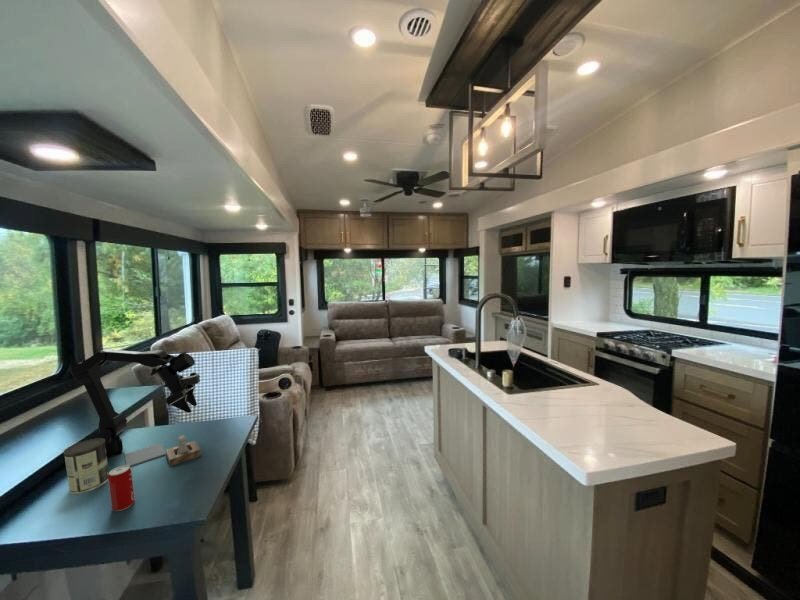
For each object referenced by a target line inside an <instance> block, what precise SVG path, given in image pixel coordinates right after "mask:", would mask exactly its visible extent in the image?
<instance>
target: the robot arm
mask: <svg viewBox="0 0 800 600" xmlns="http://www.w3.org/2000/svg"><path fill="white" fill-rule="evenodd" d="M107 361H109V362H121V363H134V364H135V363H136V364H140V365H141V366H144V367H149V368H151V371H150V376H152V377H153V376H154V375H156V374H157V376H158V377H159V378H160V379H161V381H162V383H163V387H164V388H167V389H168V391H169V392H170V393H169V395H168V396H167V397H166V398H165V401H164V402H165V403H166V404H167V405H168V406H171V407H175V408H177V409H179V410H182V411H184V413H185V412H186V413H188V414H190V413H192V409H191V407H190V406H189V404H190V405H192V406H194V407H196V406H197V405H198V404H197V401H196V397H195V394H194V392H195V389H196V385H198V384H199V383H200V382H201V379H200V377H201V376H200V374H198V372H196V371H194V372H191V373H190V374H189V376H183V375H182V374H181V375H180V374H179V373H182V372H185V371H187V369H190V368H191V367H193V366H194V365H196V362H195V359H194V357H193V356H192V355H190V354H189V353H187V351H182V352H181V353H180V354H178V355H177V356H175V355H172V354H169V353H167V352H166V351H165V350H163V349H157V350H148V351H133V350H121V349H120V350H119V349H110V348H105V349H102V350H99V351H97V352H95V353H94V354H93V355H92V356H90V357H89V358H87V359H85V360H83V361H81V362H78V363H75V364H73V366H72V368H71V369H70V373H71V375H72V377H73V378H74V379H75V380H76V381H77V382H78V383H80V384H82V385H83V386H84V387H85V390H86V392H87V395H88V396H89V399H90V400H91V403H92V405H93V407H94V409H95V411H96V414H97V416H98V418H99V420H98V431H99V434H98V435H97V436H96V437H95V438H103V439H105V448H106V456H107V459H108V458H111V457H115V456H117V455H121V454H122V453H123V450H124V447H123V439H122V438H120V436H121V435H122V434H123V433H124V431H125V430H126V428H127V427H128V425H127V423H128V419H127V418H126V417H125V413H124V412H122V413H118V412H117V411H116V410H115V408H114V406H113V404H112V402H111V399H110V397H109V396H108V393H107V391H106V389H105V386H104V384H103V382H102V380H101V377H102V367H101V366H102V365H104V364H106V362H107ZM167 364H168V365H167ZM158 366H159V367H158Z"/></svg>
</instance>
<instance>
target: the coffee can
mask: <svg viewBox="0 0 800 600" xmlns="http://www.w3.org/2000/svg"><path fill="white" fill-rule="evenodd" d="M62 453H63V455H64V461H65V462H64V463H65V469H66V476H67V482H68V489H69V490H68V492H69V493H70V494H71V495H81V494H84V493H88V492H90V491H93V490H96V489H98V488H100V487H101V486H104V485H105V484H106V483H107V482H108V476H109V472H110V471H109V465H108V458H107V456H106V448H105V439H103V438H96V437H95V438H90V439H86V440H82V441H79V442H77V443H74V444H72V445H70V446H68V447H67V448H65V449H64V450H63V452H62Z"/></svg>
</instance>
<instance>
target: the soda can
mask: <svg viewBox="0 0 800 600" xmlns="http://www.w3.org/2000/svg"><path fill="white" fill-rule="evenodd" d="M107 482H108V488H109V497H110V505H111V511H114V512H121V511H124V510H127V509H128V508H130V507H131V506H132V505H133V504H134V503H135V501H136V498H135V491H134V482H133V473H132V468H131V467H130V466H129V465H126V464H124V465H120V466H117V467H115V468H113V469H112V470H110V471H109V476H108V481H107Z"/></svg>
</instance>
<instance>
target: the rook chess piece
mask: <svg viewBox="0 0 800 600" xmlns="http://www.w3.org/2000/svg"><path fill="white" fill-rule="evenodd" d="M187 438H188V437H187V436H186V435H185V434H182V435H179V436H177V439H176V441H177V444H178V446H179V450H178V452H177V455H178V454H181V453H184V452H187V451H190V450H189V449H188V448H187V445H186V443H188V442H187Z"/></svg>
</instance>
